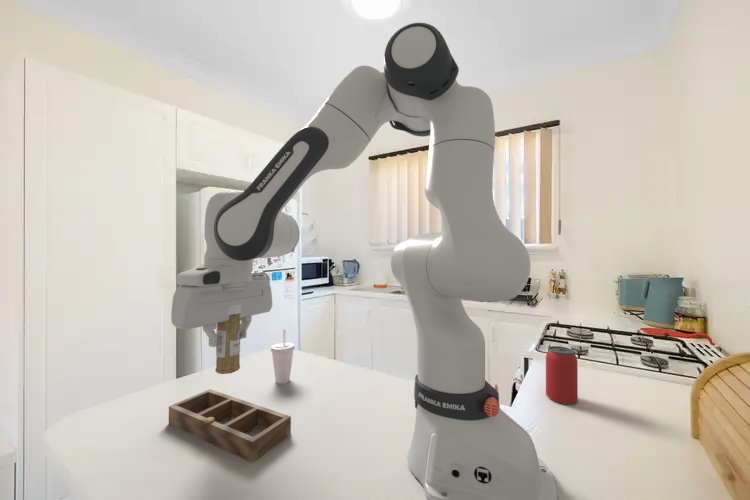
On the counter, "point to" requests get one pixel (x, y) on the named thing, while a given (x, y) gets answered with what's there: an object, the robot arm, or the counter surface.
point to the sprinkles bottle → (229, 342)
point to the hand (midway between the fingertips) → (228, 342)
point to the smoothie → (282, 360)
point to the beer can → (562, 375)
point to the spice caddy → (230, 423)
